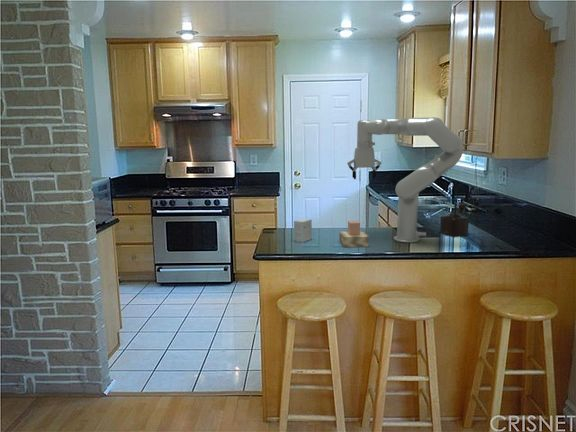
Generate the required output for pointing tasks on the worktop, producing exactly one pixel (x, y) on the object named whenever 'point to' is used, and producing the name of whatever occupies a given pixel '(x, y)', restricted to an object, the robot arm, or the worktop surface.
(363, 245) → the maple base block
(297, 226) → the small box
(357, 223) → the terracotta block
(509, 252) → the worktop surface
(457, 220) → the dark brown boxy piece
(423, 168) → the robot arm
